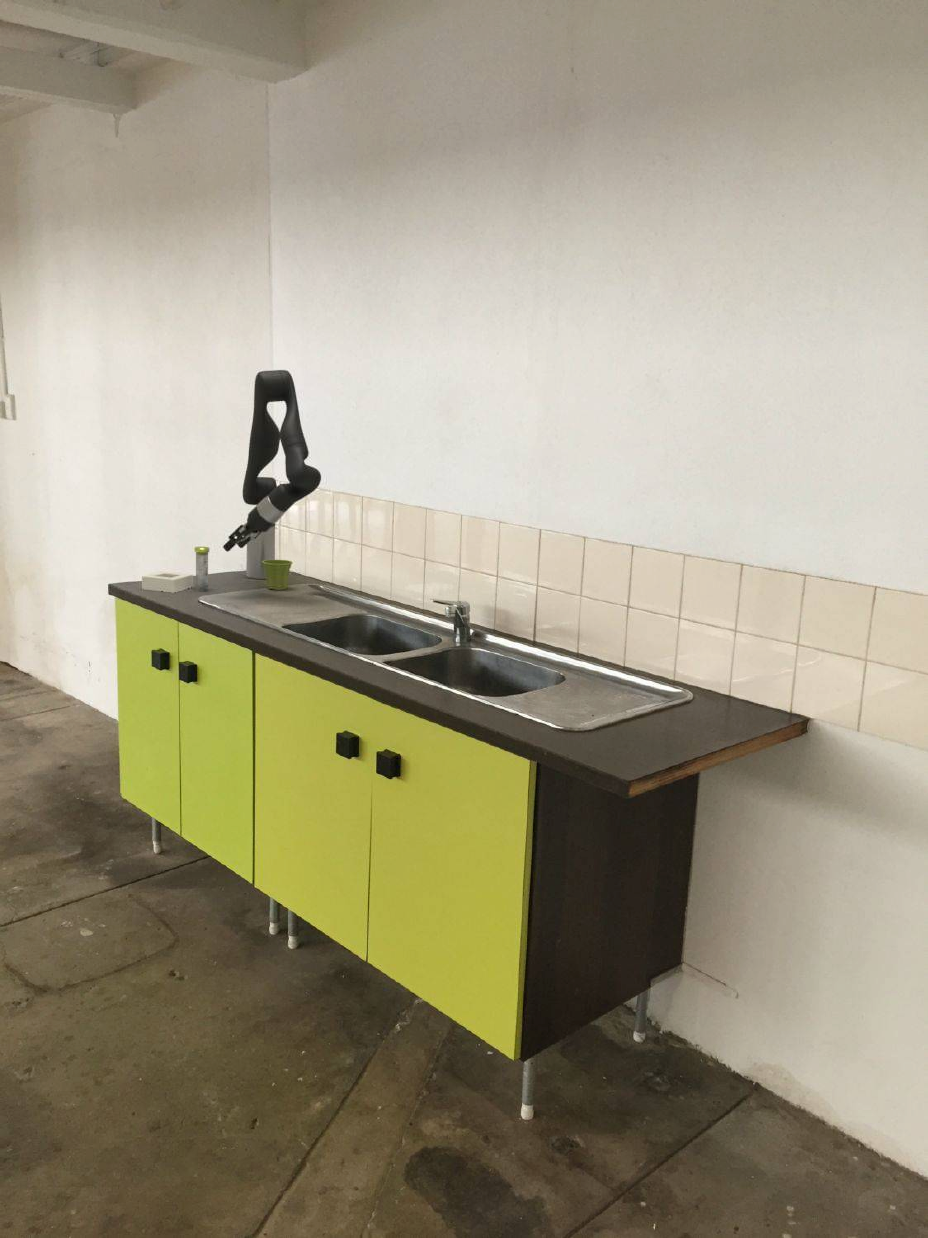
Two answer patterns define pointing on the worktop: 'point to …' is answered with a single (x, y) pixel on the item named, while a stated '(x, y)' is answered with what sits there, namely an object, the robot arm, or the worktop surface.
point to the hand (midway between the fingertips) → (232, 547)
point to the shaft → (202, 568)
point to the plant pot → (277, 573)
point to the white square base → (167, 581)
